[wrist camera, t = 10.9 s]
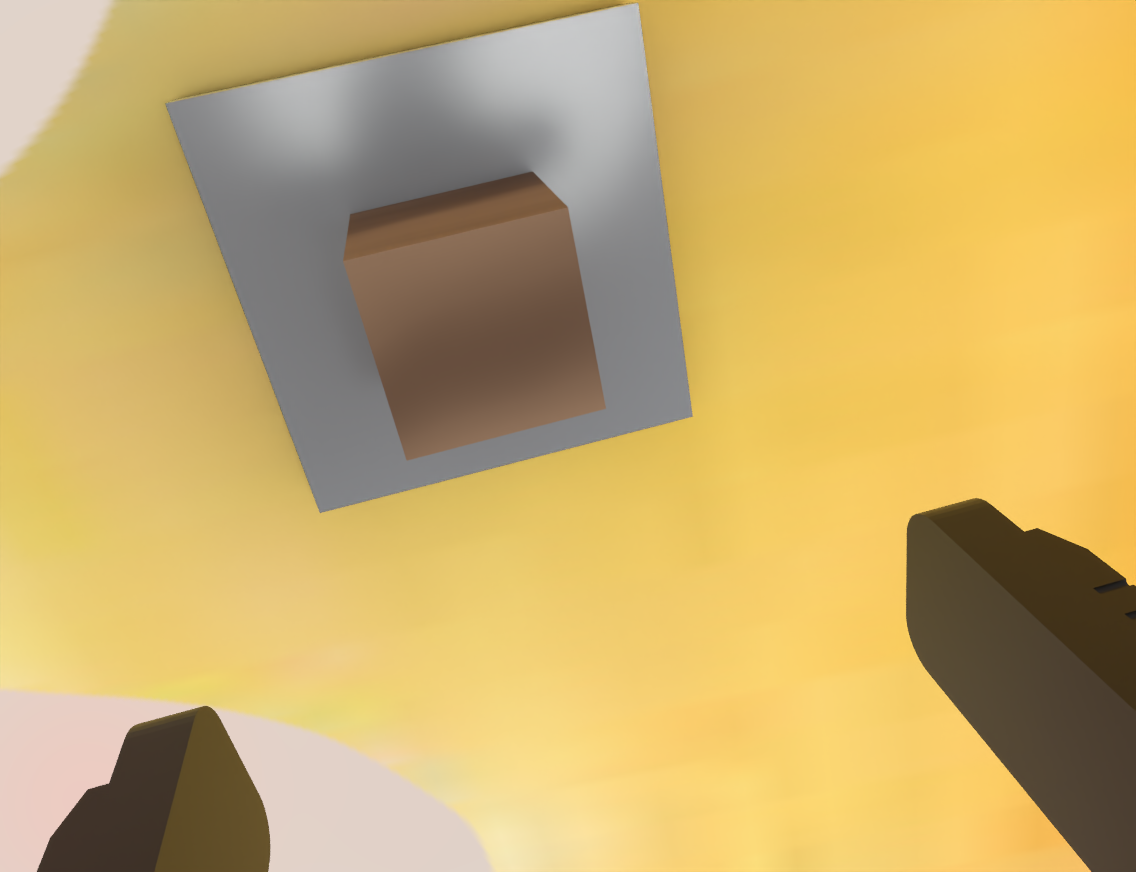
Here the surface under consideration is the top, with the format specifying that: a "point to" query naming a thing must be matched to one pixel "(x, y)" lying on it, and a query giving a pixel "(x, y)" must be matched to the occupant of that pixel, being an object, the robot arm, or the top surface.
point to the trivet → (426, 167)
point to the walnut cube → (474, 312)
